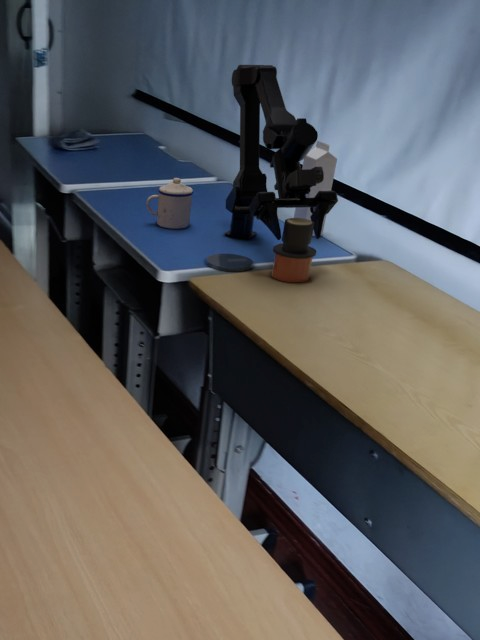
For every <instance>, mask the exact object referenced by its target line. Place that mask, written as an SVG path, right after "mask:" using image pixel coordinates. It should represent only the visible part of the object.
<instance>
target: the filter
mask: <svg viewBox="0 0 480 640" xmlns="http://www.w3.org/2000/svg"><path fill="white" fill-rule="evenodd" d="M283 223H284V224H283V230H282V234H281V241H282V243H278V244H275V245H273V247H272V252H273V253H274V254H275V253H276V254H278V255H280V256H283V257H288V258H296V259H305V258H311V257H313V258H315V256H317V253H318V251H317V249H316V248H314V247H312V246H310V244H311V243H312V239H313V236H312V234H313V228H314V222H313V221H311V220H308V219H304V218H294V217H290V218H286V219H284V222H283Z"/></svg>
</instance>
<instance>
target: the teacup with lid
mask: <svg viewBox="0 0 480 640" xmlns="http://www.w3.org/2000/svg"><path fill="white" fill-rule="evenodd" d="M181 181H182V179H181V178H179V177H174V178H173V179H172V181H170V182H168V183H166V184H164V185H161V186H160V187H159V188H158V194H153V195H150V196H148V198H147V199H146V208H147V209H146V210H147V211H148V212H149V213H150V214H151V215H154V216H157V217H156V224H157V225H158V226H159V227H161V228H164V229H172V230H179V229H185V228H188V227H189V226H190V219H191V211H192V200H193V194H194V190H193V188H192V187H190V186H188V185H187V184H185V183H184V182H181ZM153 199H158V204H157V211H154V210H153V209H152V208H151V207H150V202H151V200H153Z"/></svg>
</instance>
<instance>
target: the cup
mask: <svg viewBox="0 0 480 640" xmlns="http://www.w3.org/2000/svg"><path fill="white" fill-rule="evenodd" d="M313 258H314V257H311V258H305V259H296V258H288V257H283V256H280V255H278V254H276V253H274V258H273V264H272V269H271V276H272V278H274V279H275V280H278V281H281V282H286V283H302V282H306V281H308V280H309V278H310V274H311V268H312V263H313Z"/></svg>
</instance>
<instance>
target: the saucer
mask: <svg viewBox="0 0 480 640" xmlns="http://www.w3.org/2000/svg"><path fill="white" fill-rule="evenodd" d="M205 264H206V266H208V267H210V268H212V269H214V270H215V269H216V270H217V271H223V272H245V271H248V270H251V269H252V268H253V267H254V261H253V259H251V258H250V257H248V256H245V255H241V254H236V253H215V254H211V255H209V256H207V257H206V259H205Z"/></svg>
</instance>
